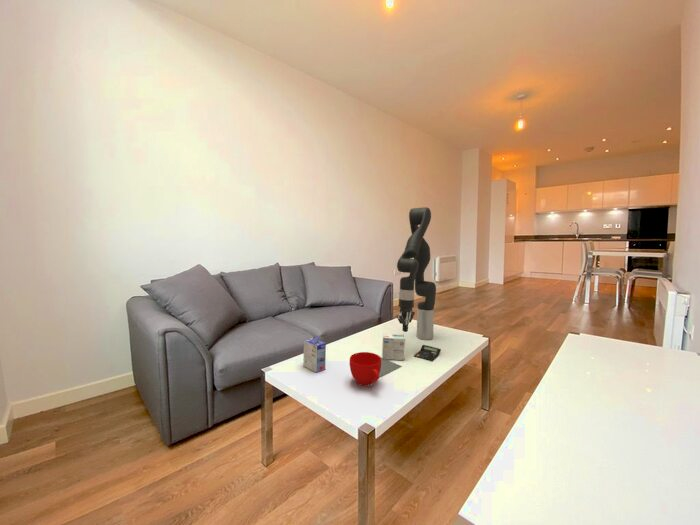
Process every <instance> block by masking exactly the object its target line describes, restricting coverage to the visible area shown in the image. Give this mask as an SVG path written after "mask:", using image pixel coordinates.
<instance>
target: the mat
mask: <svg viewBox="0 0 700 525" xmlns="http://www.w3.org/2000/svg"><path fill="white" fill-rule="evenodd" d="M349 365H350V362H349ZM401 367H403V366H402V365H400V364H398V363H395V362H393V361H391V360H389V359H382V357H381V369H380V373H379V379H380V378H382V377H384V376H385V375H388V374H390V373H392V372H393V371H396V370H398V369H401Z"/></svg>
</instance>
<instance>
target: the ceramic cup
mask: <svg viewBox="0 0 700 525" xmlns="http://www.w3.org/2000/svg"><path fill="white" fill-rule="evenodd" d="M381 358H382V357H381V356H380V355H378V354H376V353H374V352H370V351H369V352H368V351H360V352H355V353H353V354H351V355H350V357H349V363H350V364H349V369H350V373H351V376H352V378H353V379H354V380H355V382H356V383H357V384H358V385H360V386H363V387H367V386H371V385H373V383H375V382H378V380H379V379H380V378H379V373H380V369H381Z"/></svg>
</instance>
